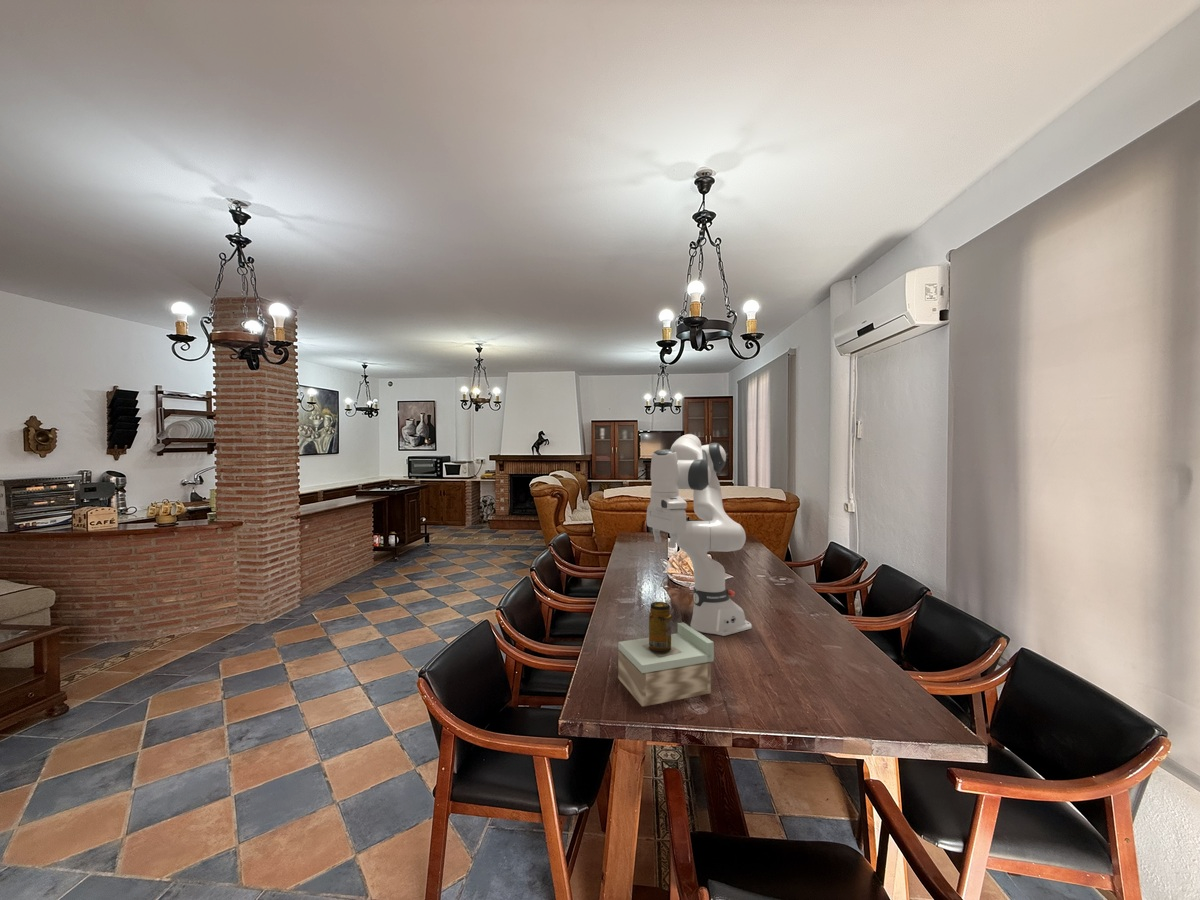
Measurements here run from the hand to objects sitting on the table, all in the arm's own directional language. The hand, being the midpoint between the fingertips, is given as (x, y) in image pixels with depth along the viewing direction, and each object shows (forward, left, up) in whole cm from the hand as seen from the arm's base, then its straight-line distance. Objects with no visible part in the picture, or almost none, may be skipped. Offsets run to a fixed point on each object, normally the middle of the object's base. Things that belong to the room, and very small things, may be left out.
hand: (664, 544), depth 147 cm
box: (+9, +16, -35) cm, 40 cm away
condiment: (+10, +17, -25) cm, 32 cm away
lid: (+8, +16, -27) cm, 32 cm away
